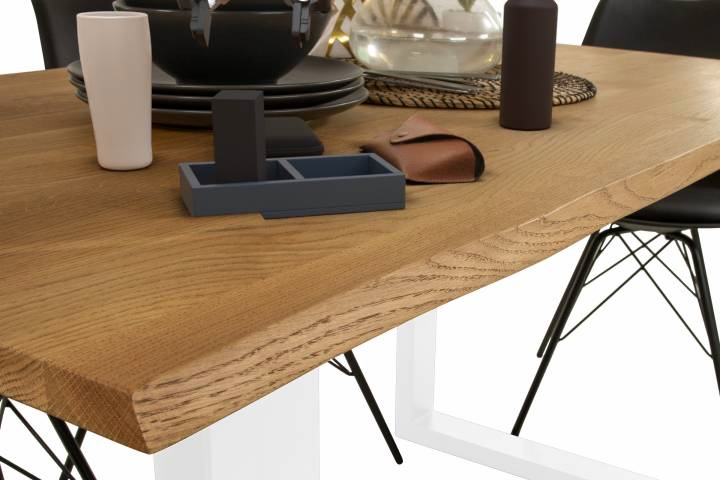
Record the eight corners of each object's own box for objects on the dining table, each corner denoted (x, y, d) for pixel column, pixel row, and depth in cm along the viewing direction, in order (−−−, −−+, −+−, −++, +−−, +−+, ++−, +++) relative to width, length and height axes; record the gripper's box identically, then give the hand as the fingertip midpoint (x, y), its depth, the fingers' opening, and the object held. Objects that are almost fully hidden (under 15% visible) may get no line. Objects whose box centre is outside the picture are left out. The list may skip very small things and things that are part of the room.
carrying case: (214, 142, 115) (223, 171, 102) (212, 115, 114) (221, 141, 101) (307, 139, 118) (327, 167, 105) (306, 113, 117) (327, 137, 104)
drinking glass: (80, 172, 100) (64, 15, 95) (105, 158, 106) (90, 10, 101) (148, 174, 100) (135, 17, 95) (168, 159, 106) (157, 12, 101)
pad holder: (405, 208, 90) (405, 174, 89) (194, 224, 83) (192, 187, 82) (374, 184, 98) (374, 152, 97) (180, 196, 92) (178, 163, 91)
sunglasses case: (352, 144, 113) (381, 92, 112) (402, 173, 116) (431, 122, 115) (406, 181, 97) (440, 120, 96) (463, 212, 101) (496, 154, 100)
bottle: (555, 123, 132) (564, -38, 125) (547, 132, 126) (556, -37, 119) (504, 119, 133) (511, -40, 127) (493, 128, 127) (500, -39, 120)
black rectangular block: (217, 203, 87) (210, 98, 84) (227, 189, 91) (221, 89, 88) (259, 204, 87) (254, 99, 84) (267, 190, 91) (263, 90, 88)
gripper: (180, -124, 94) (160, 12, 88) (333, -121, 95) (324, 15, 88) (196, -65, 101) (178, 66, 94) (338, -61, 102) (331, 69, 95)
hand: (249, 41), depth 91 cm, fingers open, 8 cm apart
